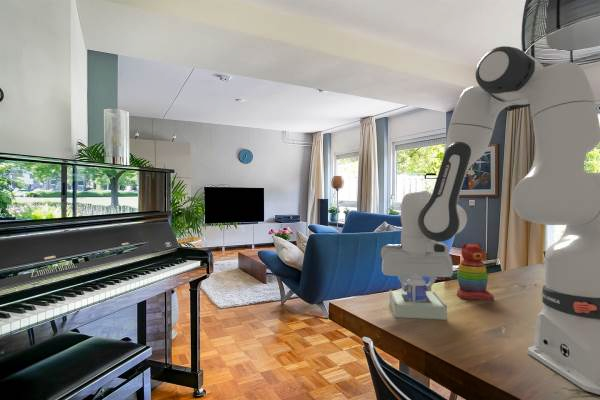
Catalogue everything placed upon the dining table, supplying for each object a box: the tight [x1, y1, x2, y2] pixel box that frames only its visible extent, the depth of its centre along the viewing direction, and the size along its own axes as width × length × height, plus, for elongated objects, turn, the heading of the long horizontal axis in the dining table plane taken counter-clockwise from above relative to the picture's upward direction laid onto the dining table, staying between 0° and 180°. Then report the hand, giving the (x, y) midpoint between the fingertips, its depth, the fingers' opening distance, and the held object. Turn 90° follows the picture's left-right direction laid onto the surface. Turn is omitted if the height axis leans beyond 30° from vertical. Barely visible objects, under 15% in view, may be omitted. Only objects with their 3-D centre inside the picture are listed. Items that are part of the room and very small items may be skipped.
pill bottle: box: [407, 274, 427, 303], centre depth 100 cm, size 5×5×10 cm
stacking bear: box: [456, 243, 495, 301], centre depth 114 cm, size 11×10×18 cm
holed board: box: [389, 289, 448, 321], centre depth 100 cm, size 14×14×4 cm
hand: (416, 290), depth 100 cm, fingers closed on pill bottle, 5 cm apart
